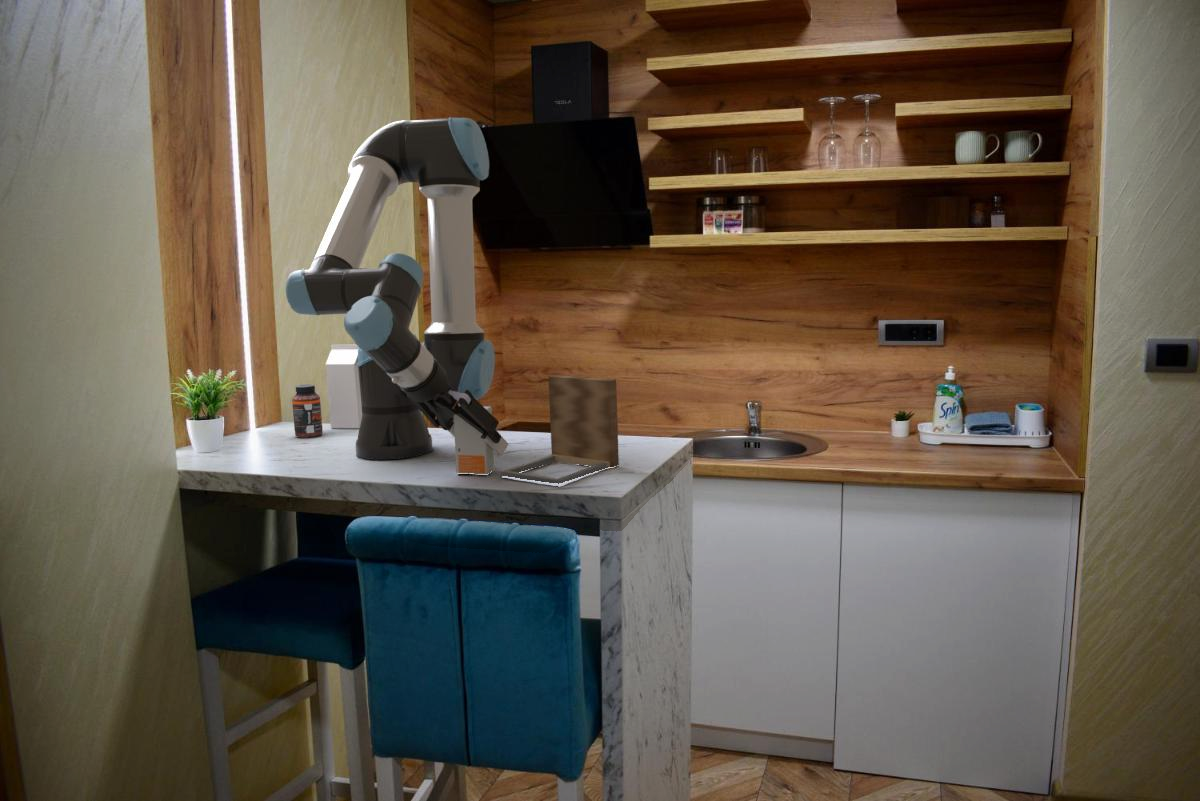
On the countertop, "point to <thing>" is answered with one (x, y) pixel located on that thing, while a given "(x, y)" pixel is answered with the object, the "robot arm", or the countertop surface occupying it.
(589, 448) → the wall board
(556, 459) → the grey rectangular frame
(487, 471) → the skincare box
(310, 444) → the countertop surface
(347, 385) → the milk carton
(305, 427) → the supplement bottle
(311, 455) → the countertop surface
